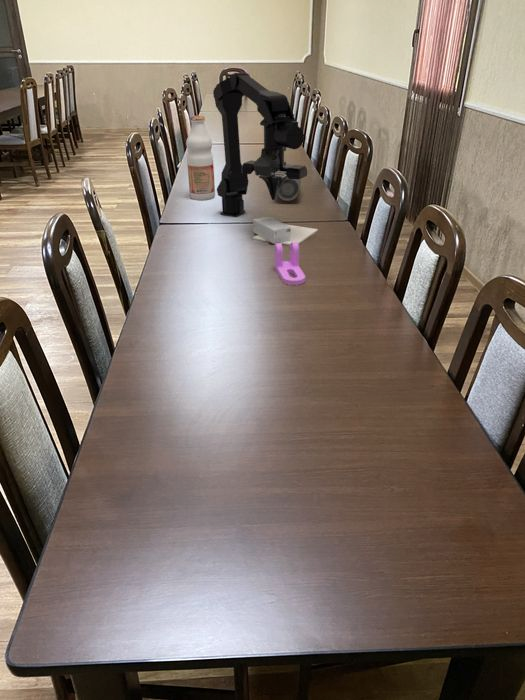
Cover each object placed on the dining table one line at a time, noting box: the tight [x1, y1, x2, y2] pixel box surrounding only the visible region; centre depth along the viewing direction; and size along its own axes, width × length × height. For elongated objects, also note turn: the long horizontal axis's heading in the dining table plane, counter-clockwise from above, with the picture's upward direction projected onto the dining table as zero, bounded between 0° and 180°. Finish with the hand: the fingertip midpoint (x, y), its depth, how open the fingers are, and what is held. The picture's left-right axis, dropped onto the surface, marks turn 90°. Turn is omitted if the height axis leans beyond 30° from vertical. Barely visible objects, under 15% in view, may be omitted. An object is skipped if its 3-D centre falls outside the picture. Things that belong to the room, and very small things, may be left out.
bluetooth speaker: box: [277, 163, 302, 202], centre depth 199 cm, size 23×9×10 cm, turn 178°
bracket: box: [273, 242, 306, 286], centre depth 133 cm, size 13×6×7 cm, turn 11°
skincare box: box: [252, 216, 291, 245], centre depth 159 cm, size 6×4×12 cm
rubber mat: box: [252, 223, 319, 246], centre depth 162 cm, size 14×16×1 cm
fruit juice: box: [185, 115, 216, 201], centre depth 193 cm, size 9×9×28 cm
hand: (273, 199), depth 159 cm, fingers closed
